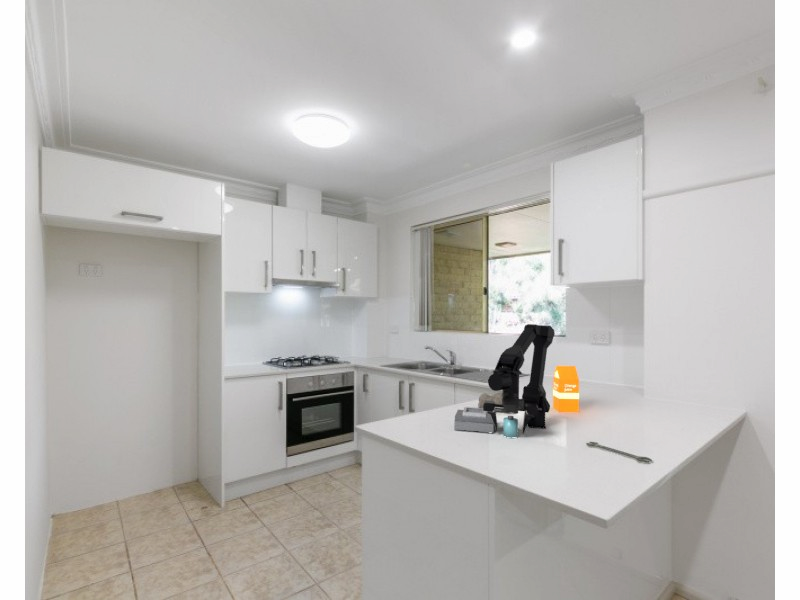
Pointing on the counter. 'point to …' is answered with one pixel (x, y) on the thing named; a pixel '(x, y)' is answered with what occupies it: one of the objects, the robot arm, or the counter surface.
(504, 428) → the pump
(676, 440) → the counter surface
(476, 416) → the square aluminium tube flange
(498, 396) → the pipe
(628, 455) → the wrench
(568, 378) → the orange juice
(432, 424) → the counter surface
